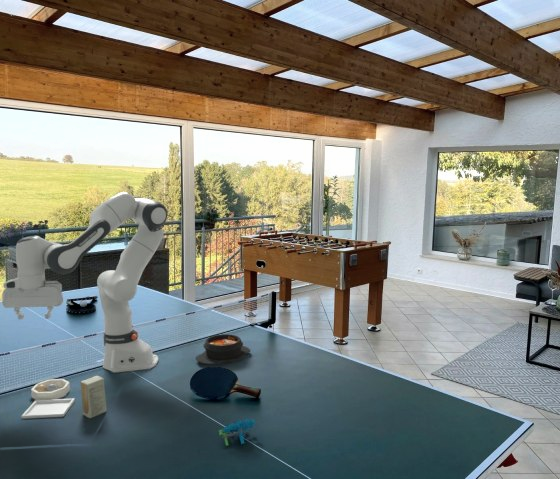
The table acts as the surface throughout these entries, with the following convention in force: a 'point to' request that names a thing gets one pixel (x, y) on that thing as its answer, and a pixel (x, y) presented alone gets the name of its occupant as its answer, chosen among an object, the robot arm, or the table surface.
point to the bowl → (61, 391)
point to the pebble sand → (41, 388)
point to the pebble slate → (51, 388)
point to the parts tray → (48, 408)
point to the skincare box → (93, 396)
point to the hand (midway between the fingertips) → (34, 318)
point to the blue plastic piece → (236, 429)
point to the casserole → (222, 349)
